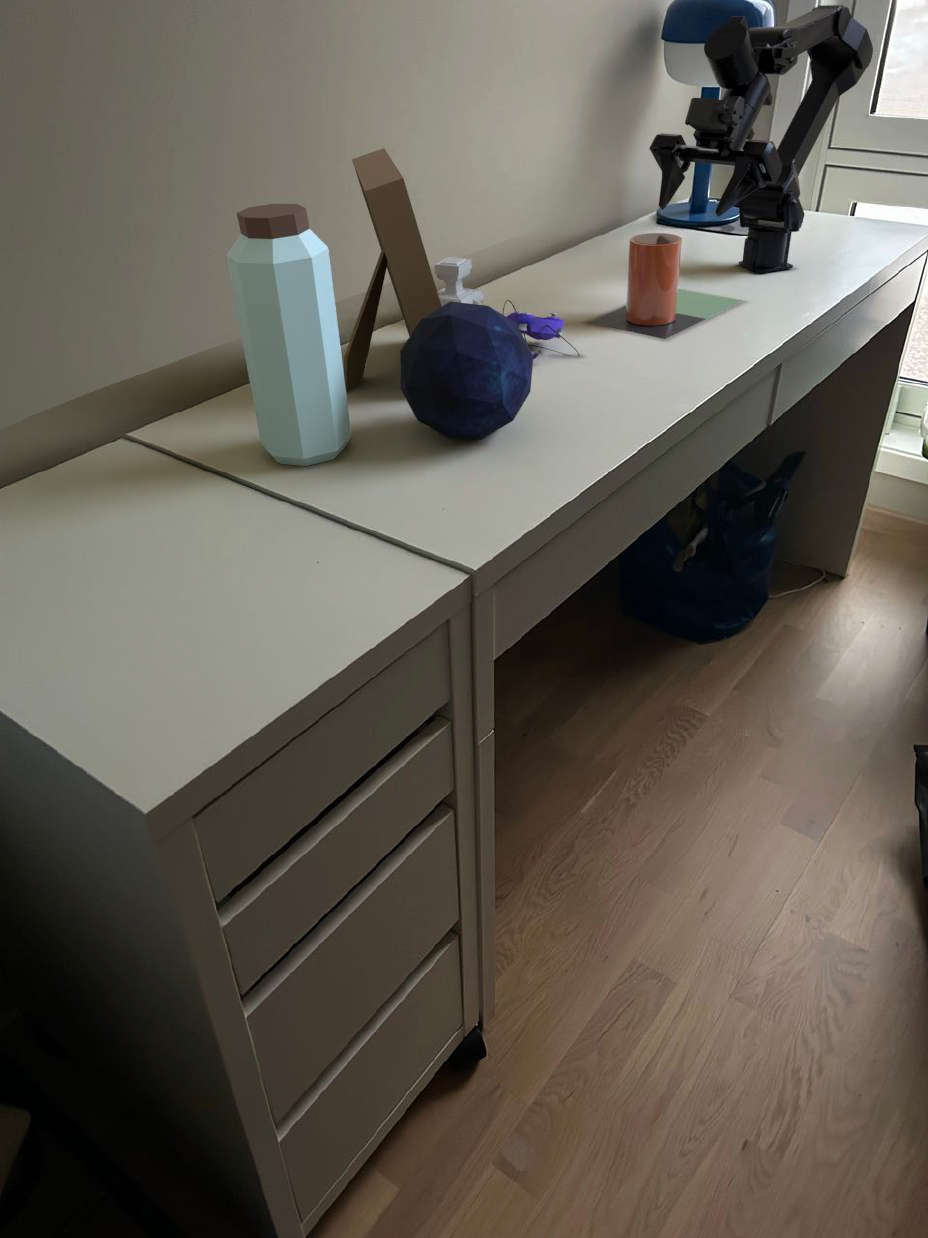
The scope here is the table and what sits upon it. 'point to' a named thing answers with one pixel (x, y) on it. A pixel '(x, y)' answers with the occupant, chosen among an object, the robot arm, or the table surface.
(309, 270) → the water bottle
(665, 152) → the robot arm
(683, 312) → the desk mat
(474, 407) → the decorative orb
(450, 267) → the stamp
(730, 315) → the table surface
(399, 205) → the photo frame
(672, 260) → the tumbler
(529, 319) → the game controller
